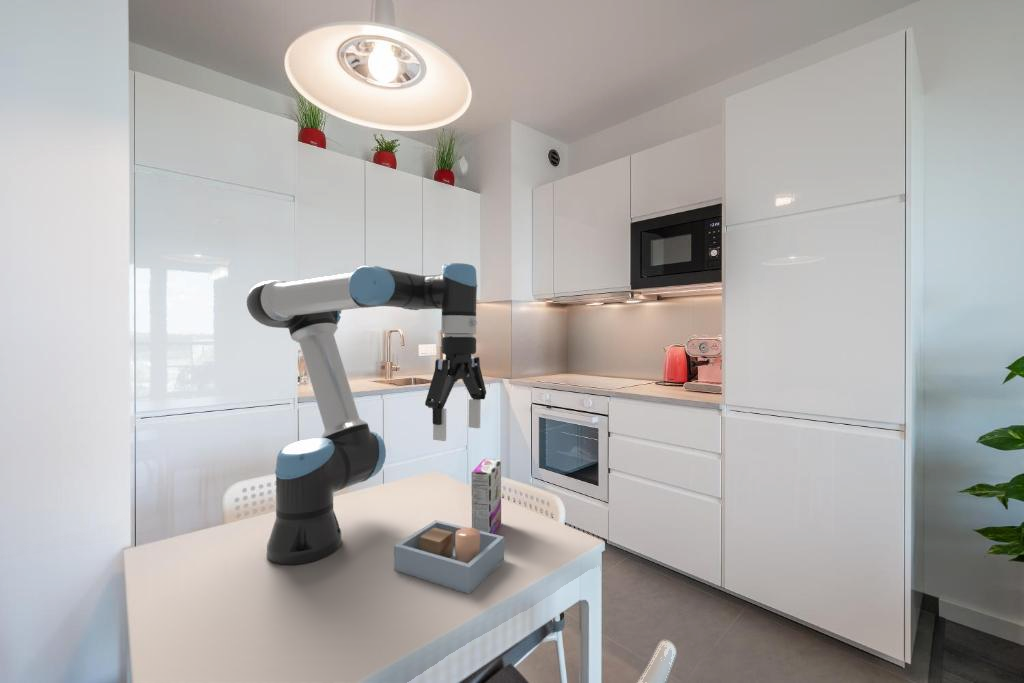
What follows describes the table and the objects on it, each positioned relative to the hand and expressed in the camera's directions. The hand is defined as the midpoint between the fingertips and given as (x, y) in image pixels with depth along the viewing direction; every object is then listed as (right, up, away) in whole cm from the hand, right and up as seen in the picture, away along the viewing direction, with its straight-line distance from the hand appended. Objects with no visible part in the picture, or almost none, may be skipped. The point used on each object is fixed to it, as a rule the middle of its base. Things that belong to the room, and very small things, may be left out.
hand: (458, 433), depth 96 cm
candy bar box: (+6, -27, +12) cm, 30 cm away
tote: (-1, -27, -4) cm, 27 cm away
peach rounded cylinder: (+3, -26, -5) cm, 27 cm away
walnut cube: (-4, -26, -2) cm, 27 cm away
